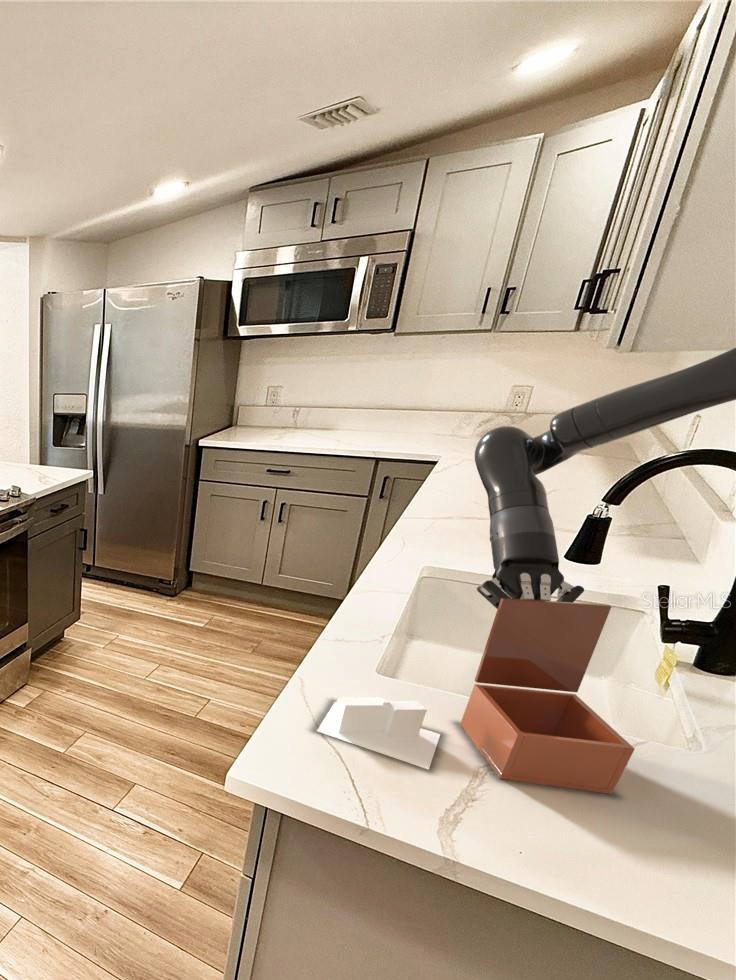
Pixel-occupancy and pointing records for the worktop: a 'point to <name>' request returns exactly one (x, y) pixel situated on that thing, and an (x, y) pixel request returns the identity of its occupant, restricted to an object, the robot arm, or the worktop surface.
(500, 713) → the reddish brown box
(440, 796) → the worktop surface
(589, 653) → the lid
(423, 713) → the napkin holder
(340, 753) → the worktop surface
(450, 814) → the worktop surface
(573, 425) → the robot arm
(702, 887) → the worktop surface
